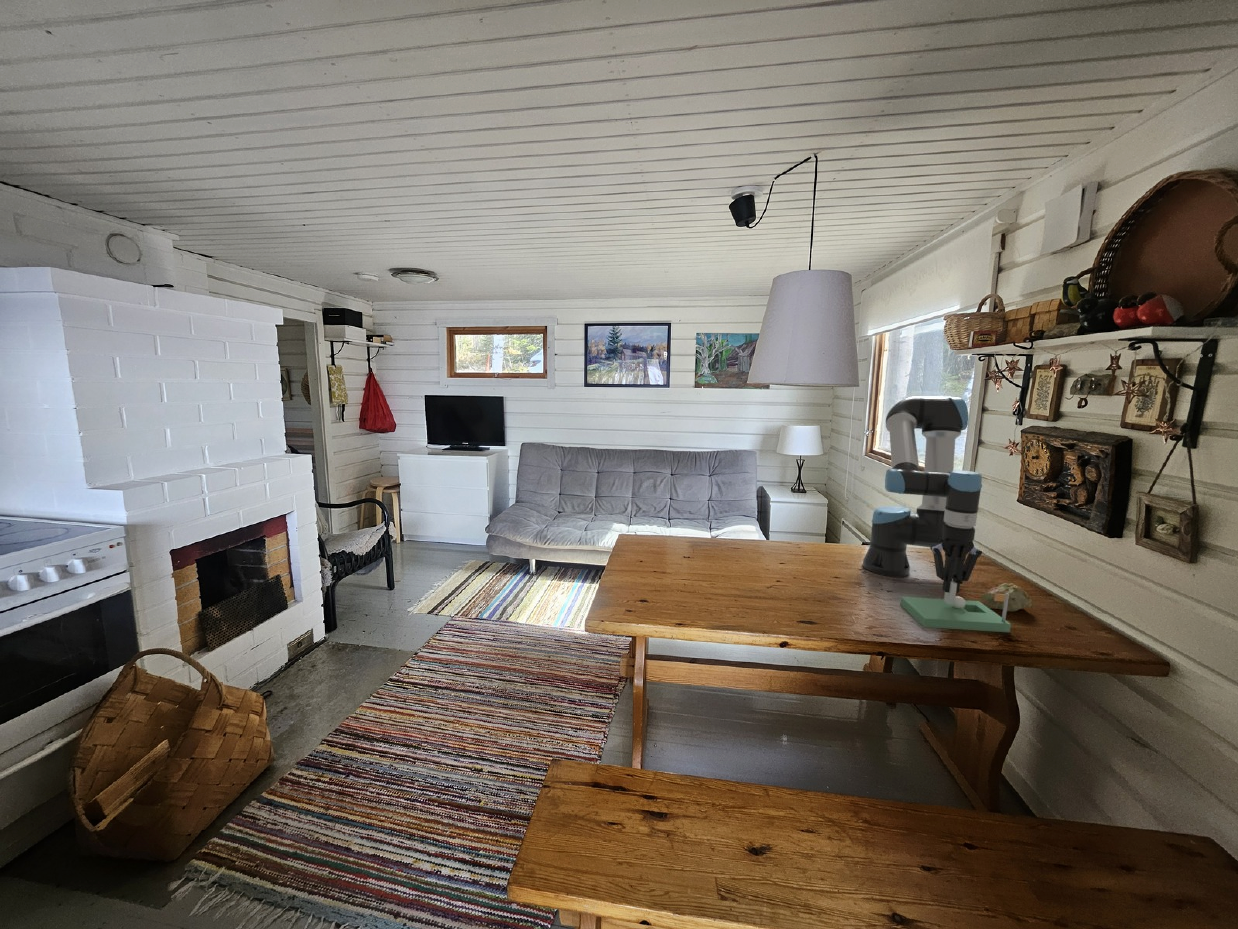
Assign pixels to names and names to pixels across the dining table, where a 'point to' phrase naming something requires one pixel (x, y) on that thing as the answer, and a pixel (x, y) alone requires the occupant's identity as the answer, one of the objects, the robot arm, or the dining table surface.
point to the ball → (959, 602)
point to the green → (957, 614)
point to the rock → (1016, 597)
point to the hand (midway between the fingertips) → (949, 602)
